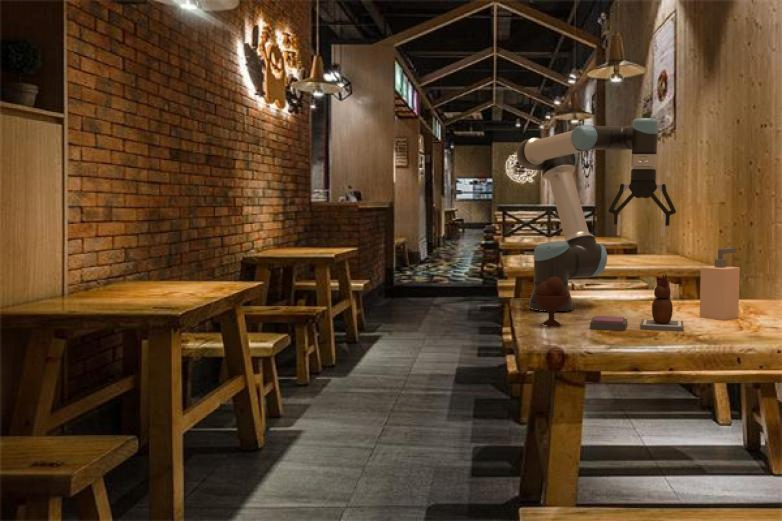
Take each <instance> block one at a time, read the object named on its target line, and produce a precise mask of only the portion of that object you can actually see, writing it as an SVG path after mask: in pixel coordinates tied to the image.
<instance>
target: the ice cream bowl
mask: <svg viewBox="0 0 782 521" xmlns="http://www.w3.org/2000/svg"><path fill="white" fill-rule="evenodd" d="M570 295H571V293H570V294H568V292H567V290H566V289H565V288H564V283H563V281H562V280H561V279H560V278H558V277H550V278H549V279H548V280H547V281H544V282H542V283H540V284H539V285H538V286H537V288H536V292H535V294H533V296H534V300H535V302H536V304H537V305H538V306H539V307H540V308H542V309H543V310H545V311H547V312H546V313H547V314H548V319H547V320H545V321H543V322H542V324H544V325H547V326H546V327H560V326H561V322H559V321H558V320H556V319H555V314H556V313H557V312H556V311H558V310H560V309H562V308H563V307H564V306H565V305H566V304H567V302H568V300H569V296H570ZM544 325H543V326H544Z"/></svg>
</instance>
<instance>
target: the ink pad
mask: <svg viewBox="0 0 782 521" xmlns="http://www.w3.org/2000/svg"><path fill="white" fill-rule="evenodd" d="M627 327H628V318H625V317H624V316H611V315H610V316H607V315H605V316H604V315H596V316H595V317H593V318H592V319H591V321H590V322H589V330H601V331H619V332H620V331H622V332H625V331H626V330H627Z"/></svg>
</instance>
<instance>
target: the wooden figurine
mask: <svg viewBox="0 0 782 521" xmlns="http://www.w3.org/2000/svg"><path fill="white" fill-rule="evenodd" d="M667 277H668V276H667V273H665V275H664V274H663V275H662V277H661V278H660V279H659V281H658V285H657V286H655V287H654V294H653V295H654V297H655V298H654V300H653V301H652V303H651V314H652V319H653V320H654V321H655V322H656V323H659V324H667V323H669V322H670V321H671V320H672V318H673V311H674V310H673V303H672V301H671V299H670V297H671V294H672V293H671V292H672V291H671V288H670V287H669V286H668V278H667Z"/></svg>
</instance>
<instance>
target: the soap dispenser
mask: <svg viewBox="0 0 782 521" xmlns="http://www.w3.org/2000/svg"><path fill="white" fill-rule="evenodd" d="M734 253H735V254H736V253H737V248H736V247H729V248H719V249H717V258H715V259H714V265H710V266H701V267H700V283H699V285H700V287H699V288H700V289H699V291H700V292H699V295H700V296H699V318H702V317H704V318H703V319H710V318H711V320H712V319H713V320H719V321H728V320H733V319H738V318H739V310H740V307H739V306H740V305H739V304H740V303H739V302H740V275H741V274H740V273H741V270H740V269H741V267H737V266H728V265H727V258H724V255H728V254H734Z"/></svg>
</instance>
